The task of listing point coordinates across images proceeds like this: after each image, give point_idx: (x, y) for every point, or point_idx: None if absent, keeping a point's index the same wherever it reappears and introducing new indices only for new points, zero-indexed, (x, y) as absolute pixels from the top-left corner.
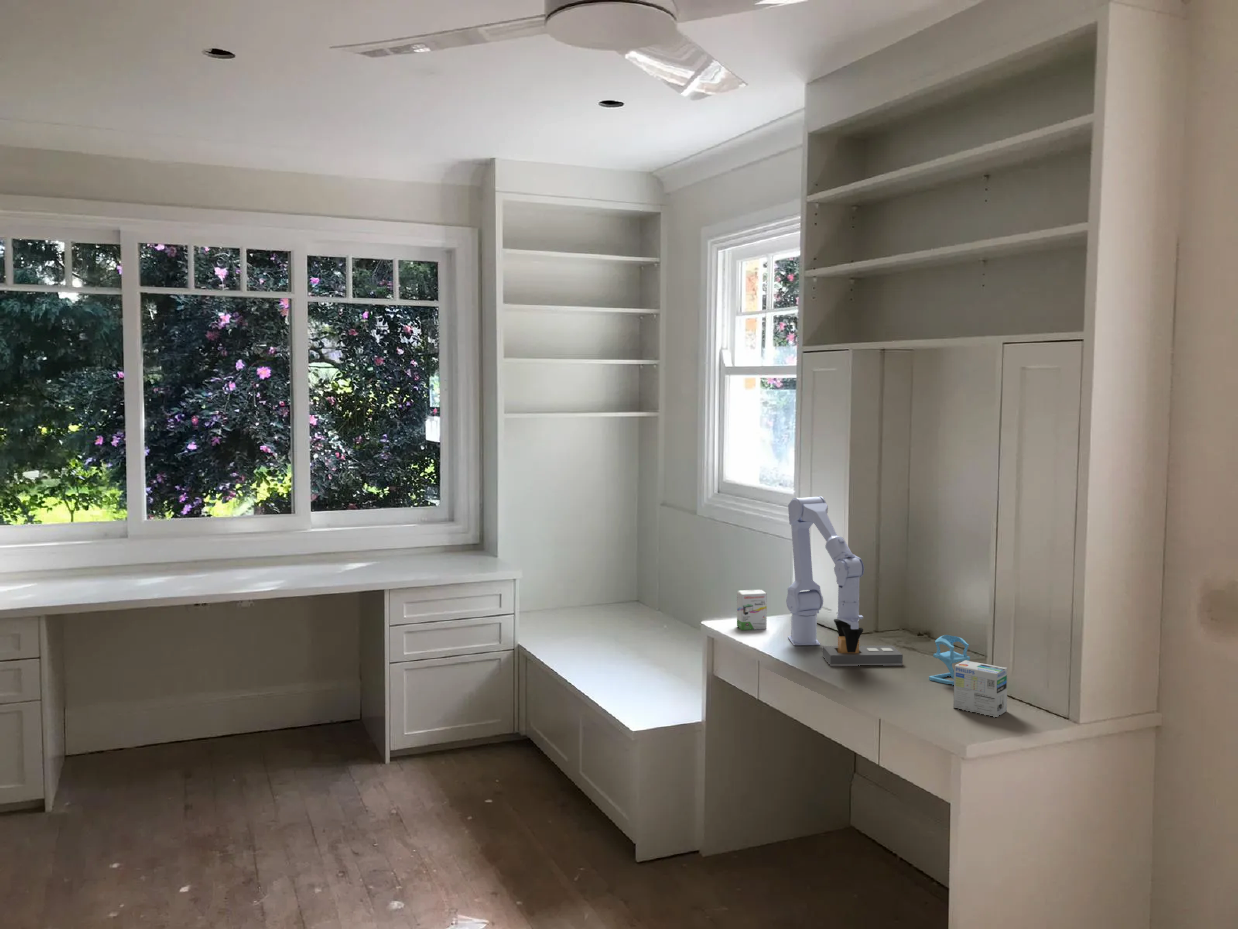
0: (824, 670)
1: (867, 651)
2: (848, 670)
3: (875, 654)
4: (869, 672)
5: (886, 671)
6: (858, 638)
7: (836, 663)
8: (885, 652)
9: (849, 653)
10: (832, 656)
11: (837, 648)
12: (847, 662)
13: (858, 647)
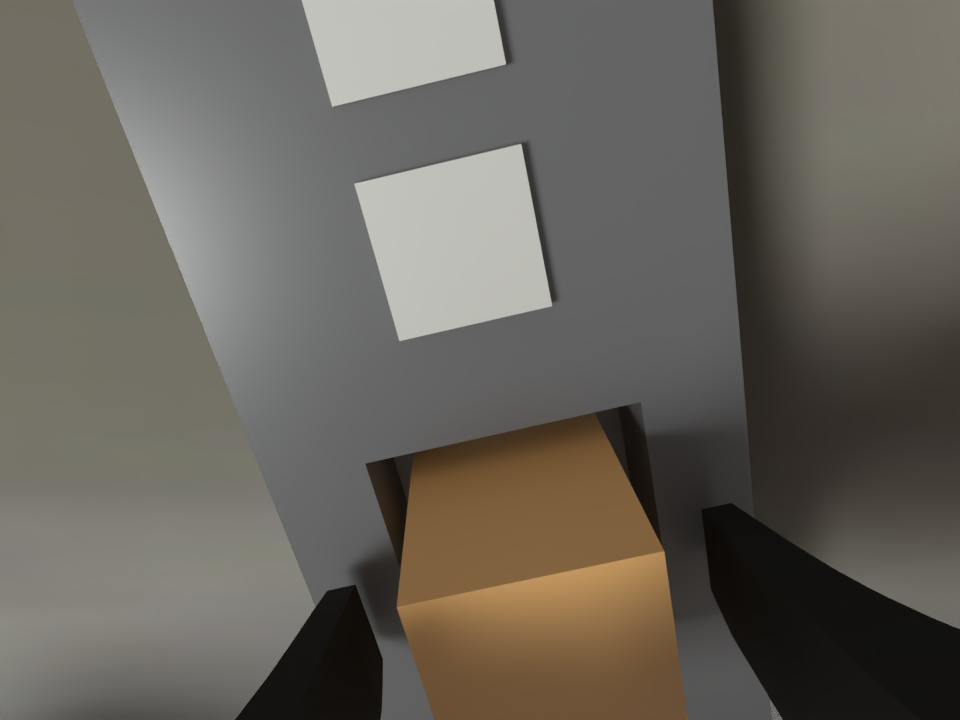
0: None
1: (547, 325)
2: (859, 481)
3: (704, 212)
4: (943, 276)
5: (917, 61)
6: (937, 628)
7: None
8: (568, 27)
9: (676, 548)
10: (764, 695)
11: None
12: None
13: (626, 483)
